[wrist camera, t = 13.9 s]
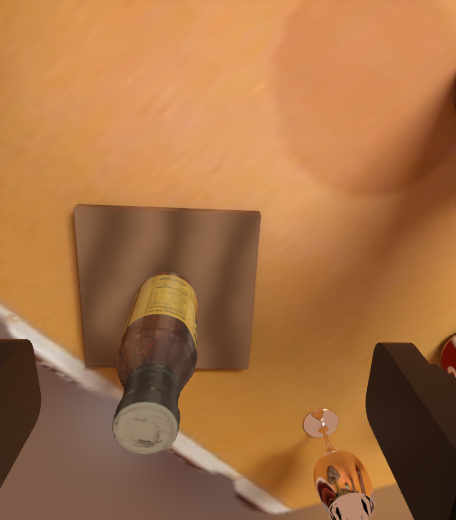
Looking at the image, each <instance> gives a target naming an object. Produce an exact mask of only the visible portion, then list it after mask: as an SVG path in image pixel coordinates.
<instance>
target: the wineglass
mask: <svg viewBox="0 0 456 520" xmlns="http://www.w3.org/2000/svg"><path fill="white" fill-rule="evenodd" d="M338 423H339V420H338V417H337V415H336V414H335V413H334V412H333V411H331V410H328V409H319V410H315V411H313V412H311V413H310V414H309V415H308V416H307V417H306V418H305V420H304V430H305V431H306V433H307V434H309V435H310V436H313V437H318V438H321V437H324V439H325V442H326V451H327V453H326V454H324V455H323V456H322V457H321V458H320V459H319V460H318V462H317V463H316V466H315V468H314V484H315V488H316V491H317V494H318V496H319V499H320V501H321V503H322V505H323V506H324V508H325V510H326V512H327V514H328V515H329V517H330V518H331V520H367V519H369V518H370V517H371V515H372V514H373V512H374V509H375V504H374V497H373V490H372V486H371V482H370V478H369V476H368V473H367V471H366V469H365V467H364V465H363V464H362V462H361V461H360V460H359V459H358V458H357V457H356V456H355V455H353V454H352V453H350V452H347V451H343V450H335V449H334V447H333V446H332V445H331V443H330V441H329V439H328V435H330V434H332V433H333V432H334V431H335V430H336V429H337V427H338Z"/></svg>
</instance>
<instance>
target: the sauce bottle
mask: <svg viewBox="0 0 456 520" xmlns="http://www.w3.org/2000/svg"><path fill="white" fill-rule="evenodd" d="M197 319H198V302H197V297H196V294H195V291H194V289H193V287H192V285H191V284H190V283H189V281H188V280H187V279H186V278H185V277H183V276H181V275H178V274H175V273H170V272H159V273H157V274H155V275H153V276H151V277H150V278H148V279H147V280H146V281H145V282H144V283H143V284H142V285H141V287H140V289H139V290H138V292H137V295H136V297H135V300H134V303H133V306H132V309H131V312H130V315H129V318H128V321H127V324H126V327H125V330H124V333H123V336H122V339H121V343H120V348H119V352H118V356H117V362H116V364H117V372H118V376H119V378H120V382H121V384H122V386H123V387H124V394H123V397H122V399H121V401H120V403H119V405H118V407H117V409H116V413H115V415H114V420H113V425H112V430H113V433H114V437H115V438H116V440H117V442H118V443H119V444H120V445H121V446H122V447H124V448H125V449H126V450H128V451H130V452H133V453H136V454H141V455H142V454H152V453H156V452H159V451H162V450H164V449H166V448H167V447H169V446H170V445H172V443H173V442H174V441H175V439H176V437H177V434H178V429H179V423H180V411H179V408H178V398H179V396H180V392H181V391H182V389H183V388H184V386H185V385H186V383H187V382H188V381H189V379H190V378H191V377H192V375H193V373H194V371H195V369H196V365H197V352H198V351H197V330H198V323H197Z"/></svg>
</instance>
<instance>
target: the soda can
mask: <svg viewBox="0 0 456 520" xmlns="http://www.w3.org/2000/svg"><path fill="white" fill-rule="evenodd" d="M440 362H441V366H442V368H443V369H444V370H445V371H447V372H448V373H450V374H451V375H453V376H454V377H456V335H454V336H453V337H452V338H450V339H449V340H448V341H447V343H446V344H445V345H444V347H443V349H442V352H441V355H440Z"/></svg>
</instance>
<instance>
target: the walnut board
mask: <svg viewBox="0 0 456 520" xmlns="http://www.w3.org/2000/svg"><path fill="white" fill-rule="evenodd" d="M74 219H75V232H76V244H77V257H78V269H79V282H80V295H81V307H82V320H83V333H84V345H85V358H86V367H117V364H116V362H117V356H118V352H119V348H120V343H121V339H122V336H123V333H124V330H125V327H126V324H127V321H128V318H129V315H130V312H131V309H132V306H133V303H134V300H135V297H136V295H137V292H138V290H139V289H140V287H141V285H142V284H143V283H144V282H145V281H146V280H147V279H148V278H150V277H151V276H153V275H155V274H157V273H159V272H170V273H175V274H178V275H181V276H183V277H185V278H186V279H187V280H188V281H189V283H190V284H191V285H192V287H193V289H194V291H195V294H196V297H197V302H198V319H197V323H198V330H197V351H198V352H197V365H196V368H198V369H248V365H249V352H250V340H251V328H252V316H253V304H254V292H255V280H256V268H257V256H258V244H259V232H260V220H261V214H260V212H259V211H239V210H214V209H188V208H162V207H136V206H111V205H85V204H78V205H77V206H75V207H74Z"/></svg>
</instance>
